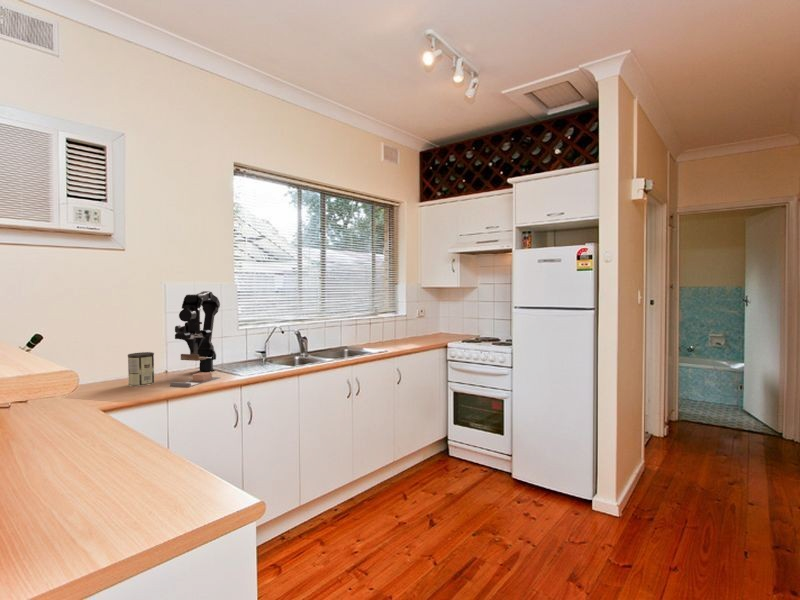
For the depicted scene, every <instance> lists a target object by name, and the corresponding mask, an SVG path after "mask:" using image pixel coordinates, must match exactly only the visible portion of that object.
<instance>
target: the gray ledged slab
mask: <svg viewBox="0 0 800 600" xmlns="http://www.w3.org/2000/svg"><path fill="white" fill-rule="evenodd" d="M218 379H219V380H220V377H217V376H212V379H211V380H207V381H204V382H200V381H192V379H190V380H187V381H186V380H185V381H183V382H178V381H177V382H176V381H175V382H174V381H171V382H169V385H170V387H179V388H191V387H194V386H198V385H202V384H204V383H208V382H212V381H216V380H218Z"/></svg>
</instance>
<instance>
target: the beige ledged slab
mask: <svg viewBox="0 0 800 600" xmlns="http://www.w3.org/2000/svg"><path fill="white" fill-rule="evenodd" d="M206 358H207V357H199V355H198V343H195V347H194V351H193V353H191V352H190V351H189V353H181V354H180V361H192V362H200V360H204V359H206Z"/></svg>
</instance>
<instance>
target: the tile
mask: <svg viewBox="0 0 800 600" xmlns="http://www.w3.org/2000/svg"><path fill="white" fill-rule="evenodd" d="M191 376H192V377H191V378H192V379H191V380H192V381H200V382H204V381H207V380H211V379H212V377H213V373H212V372H198V373H194V374H192V375H191Z"/></svg>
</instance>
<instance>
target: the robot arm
mask: <svg viewBox="0 0 800 600" xmlns="http://www.w3.org/2000/svg"><path fill="white" fill-rule="evenodd" d="M181 305H182V306H181V309H182V310H181V311H180V312H179V313H178V318H179V319H180V320H181V321H182V322H184V325H183V326H181V325H175V326H174V332H175V334H174V339H175V340H183V341H185V343H186V345H187V346H188V350H189V353H190V352H191V353H193V351H194V347H195V343H198V355H199V357H206V359H204V360H199V370H197V371H198V373H201V372H204V373H211V372H214V371H213V370H214V363H213V361H215V360H217V353H216V350H215V348H214V347H215V346H214V345H213V343H212V338H213V337H212V336H213V331H214V330H213V328H214V323H215V322H214V321H215V316H216V315H217V314H218V312H219V309H220V307H221V303H220V300H219V297H218V296H216V295H214V293H213V292H212V291H209V290H208V291H201V292H198V293H195V294H186V295H185V296H184V298H183V301H182V304H181ZM201 308H202V310H203V312H204V320H203V322H202V321H201ZM201 325H202V326H203V327H202V329H201ZM210 371H211V372H210Z"/></svg>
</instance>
